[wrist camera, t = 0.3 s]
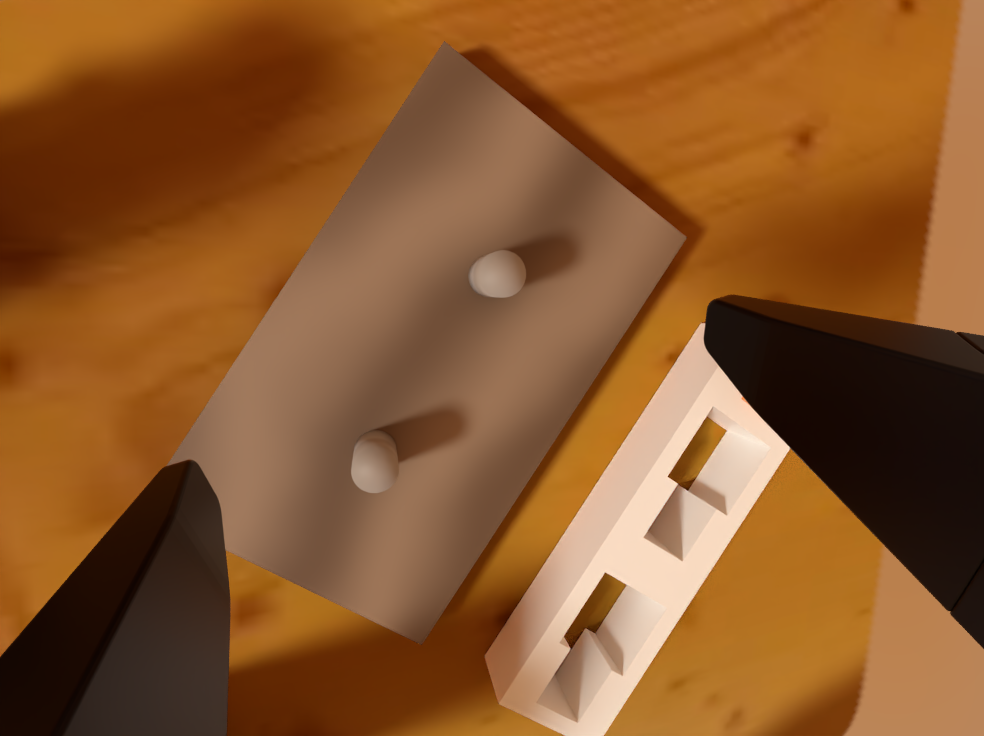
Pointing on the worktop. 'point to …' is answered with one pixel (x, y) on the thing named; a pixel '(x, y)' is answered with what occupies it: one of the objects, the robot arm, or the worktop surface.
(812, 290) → the worktop surface
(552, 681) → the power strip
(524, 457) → the peg board
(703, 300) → the worktop surface
